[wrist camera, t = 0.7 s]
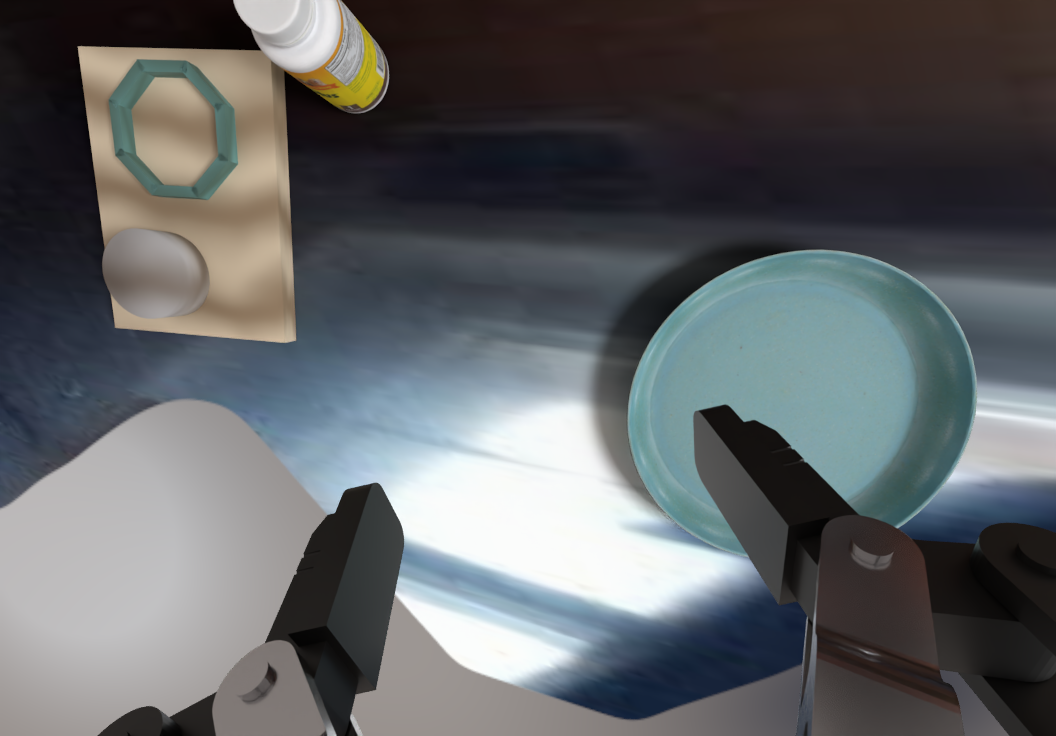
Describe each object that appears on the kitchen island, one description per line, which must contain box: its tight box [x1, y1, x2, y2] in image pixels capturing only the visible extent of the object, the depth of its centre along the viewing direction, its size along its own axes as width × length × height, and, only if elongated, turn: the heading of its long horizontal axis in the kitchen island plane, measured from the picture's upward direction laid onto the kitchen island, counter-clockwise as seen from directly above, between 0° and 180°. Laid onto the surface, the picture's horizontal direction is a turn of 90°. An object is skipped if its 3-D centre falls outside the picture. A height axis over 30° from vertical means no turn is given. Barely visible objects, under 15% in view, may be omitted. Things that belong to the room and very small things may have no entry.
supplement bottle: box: [233, 0, 389, 113], centre depth 28 cm, size 6×6×10 cm
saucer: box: [627, 250, 977, 557], centre depth 34 cm, size 24×24×3 cm
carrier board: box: [78, 47, 296, 343], centre depth 35 cm, size 22×16×4 cm
